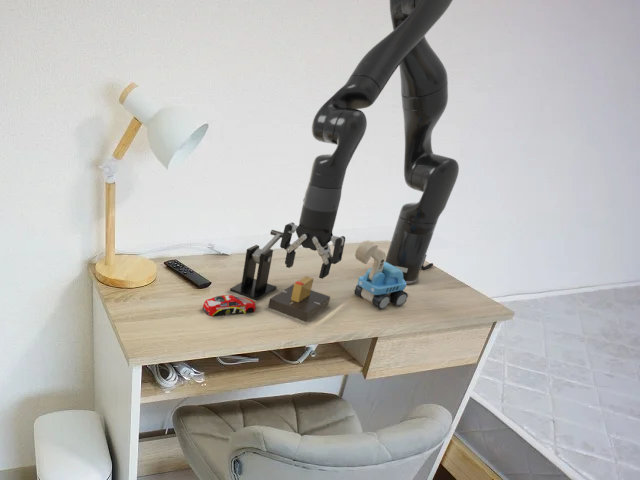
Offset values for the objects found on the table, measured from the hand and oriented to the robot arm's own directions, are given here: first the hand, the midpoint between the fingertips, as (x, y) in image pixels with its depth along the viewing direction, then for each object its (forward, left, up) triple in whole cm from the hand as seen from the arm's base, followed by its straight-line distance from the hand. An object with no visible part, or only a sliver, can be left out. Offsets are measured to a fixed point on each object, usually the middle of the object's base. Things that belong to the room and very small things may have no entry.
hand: (305, 272), depth 122 cm
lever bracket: (0, -13, -10) cm, 16 cm away
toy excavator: (-16, +12, -10) cm, 22 cm away
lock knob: (0, 0, -7) cm, 7 cm away
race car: (+14, -11, -10) cm, 20 cm away
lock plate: (0, 0, -10) cm, 10 cm away
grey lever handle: (-5, -13, +1) cm, 14 cm away
